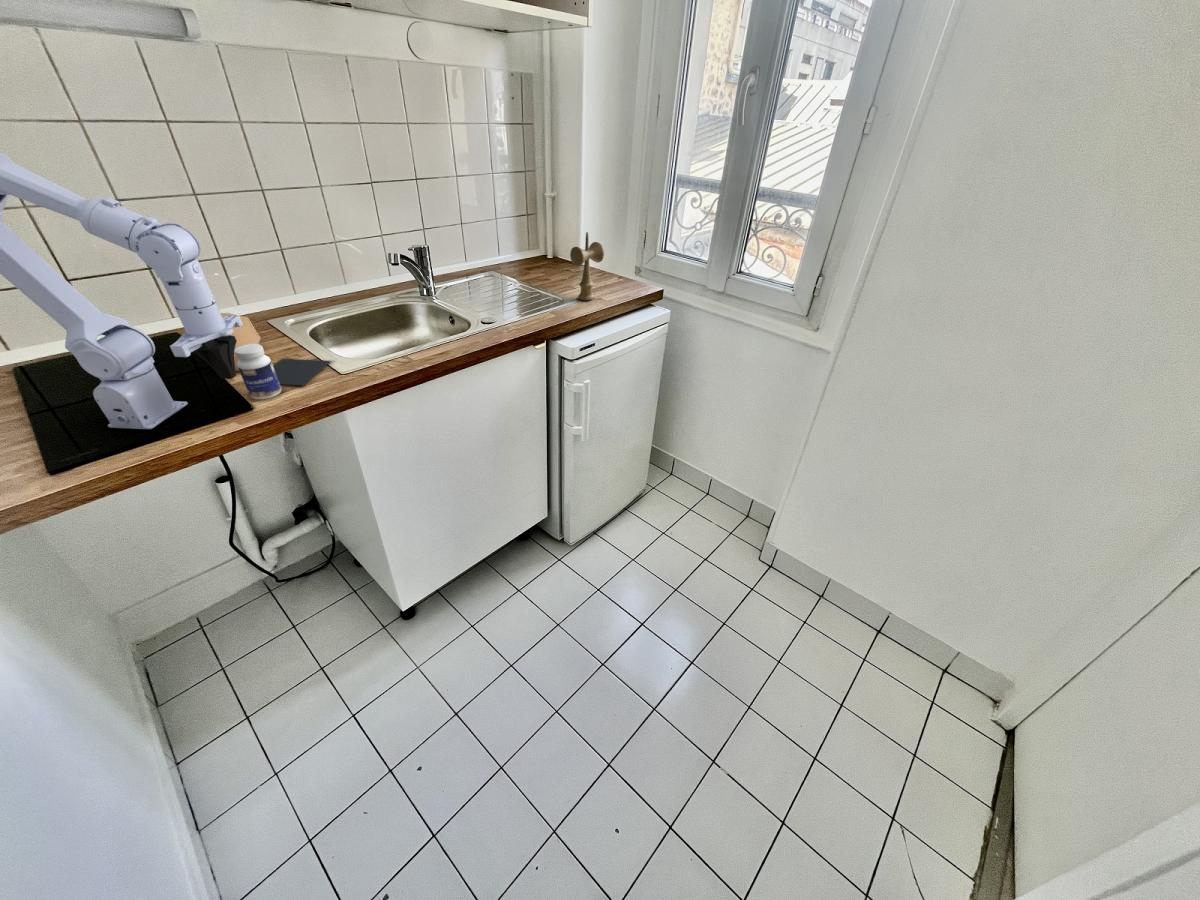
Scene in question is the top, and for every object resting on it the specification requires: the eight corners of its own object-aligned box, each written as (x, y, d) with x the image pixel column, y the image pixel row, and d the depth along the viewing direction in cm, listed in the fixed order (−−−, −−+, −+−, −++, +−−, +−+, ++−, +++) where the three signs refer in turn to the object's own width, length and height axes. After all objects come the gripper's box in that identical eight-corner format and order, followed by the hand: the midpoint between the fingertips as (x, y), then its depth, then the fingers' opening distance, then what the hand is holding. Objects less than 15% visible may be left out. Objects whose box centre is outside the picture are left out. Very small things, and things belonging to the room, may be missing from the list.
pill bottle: (252, 403, 96) (231, 356, 91) (248, 391, 100) (229, 346, 94) (284, 395, 99) (267, 350, 94) (280, 384, 103) (262, 340, 97)
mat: (302, 386, 102) (301, 385, 102) (250, 384, 103) (250, 382, 102) (330, 362, 112) (329, 360, 112) (283, 360, 112) (282, 358, 112)
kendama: (603, 298, 156) (605, 231, 145) (581, 304, 150) (582, 235, 139) (590, 293, 159) (591, 228, 148) (568, 299, 154) (568, 232, 142)
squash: (256, 338, 122) (250, 304, 117) (274, 377, 111) (269, 341, 106) (202, 341, 116) (193, 305, 111) (216, 382, 105) (207, 344, 100)
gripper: (187, 320, 76) (223, 397, 83) (246, 292, 87) (273, 361, 95) (142, 318, 76) (183, 395, 84) (207, 290, 88) (237, 359, 95)
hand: (228, 377), depth 89 cm, fingers closed
